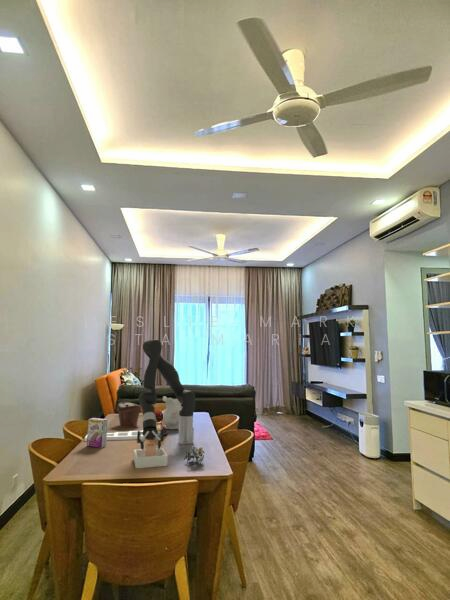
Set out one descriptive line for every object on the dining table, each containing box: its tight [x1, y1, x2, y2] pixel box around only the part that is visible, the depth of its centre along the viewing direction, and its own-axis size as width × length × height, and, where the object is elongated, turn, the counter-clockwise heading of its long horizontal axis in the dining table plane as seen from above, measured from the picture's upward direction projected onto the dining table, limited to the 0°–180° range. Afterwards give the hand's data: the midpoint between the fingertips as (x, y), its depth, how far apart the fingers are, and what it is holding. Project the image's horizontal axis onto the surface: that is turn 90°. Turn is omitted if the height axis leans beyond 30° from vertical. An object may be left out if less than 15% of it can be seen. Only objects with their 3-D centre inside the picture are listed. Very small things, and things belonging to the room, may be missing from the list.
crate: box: [133, 447, 169, 469], centre depth 196 cm, size 16×16×5 cm
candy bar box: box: [86, 417, 108, 449], centre depth 227 cm, size 11×5×16 cm, turn 71°
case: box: [116, 401, 143, 428], centre depth 289 cm, size 18×20×18 cm
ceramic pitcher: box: [161, 395, 183, 430], centre depth 285 cm, size 22×20×25 cm
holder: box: [84, 429, 143, 442], centre depth 252 cm, size 45×18×3 cm, turn 101°
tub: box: [144, 443, 157, 457], centre depth 197 cm, size 5×5×8 cm
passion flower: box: [183, 444, 205, 466], centre depth 195 cm, size 11×11×12 cm
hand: (151, 448), depth 196 cm, fingers open, 8 cm apart
